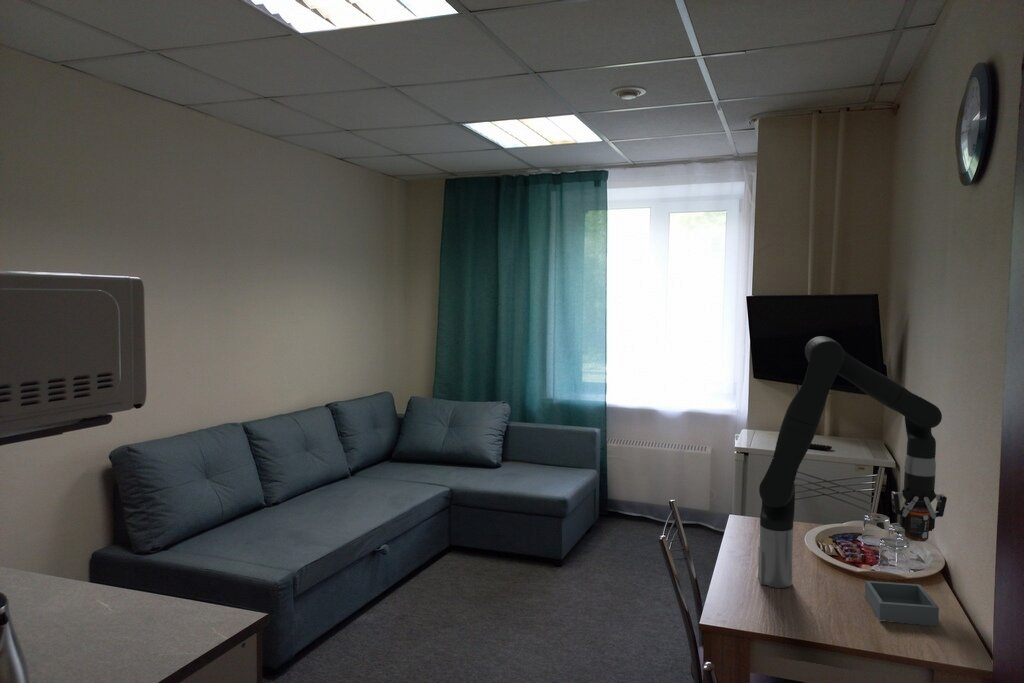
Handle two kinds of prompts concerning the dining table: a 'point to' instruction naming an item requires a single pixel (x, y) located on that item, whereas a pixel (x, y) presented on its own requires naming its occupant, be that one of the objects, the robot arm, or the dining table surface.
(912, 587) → the grey bin
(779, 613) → the dining table surface
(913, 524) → the supplement bottle
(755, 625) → the dining table surface
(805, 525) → the dining table surface
